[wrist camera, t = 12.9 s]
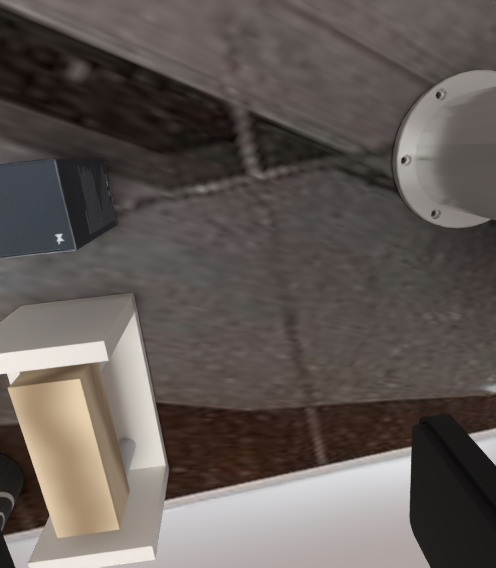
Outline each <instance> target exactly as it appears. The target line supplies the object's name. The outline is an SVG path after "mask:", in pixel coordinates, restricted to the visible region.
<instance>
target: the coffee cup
mask: <svg viewBox="0 0 496 568" xmlns="http://www.w3.org/2000/svg"><path fill="white" fill-rule="evenodd" d="M23 484H24V477H23V473H22V471H21V469H20V467H19V466H18V465H17V464H16V463H15V462H14V461H13V460H12V459H10V458H9V457H7V456H5V455H2V454H0V529H1V532H2V530H3V528H4V526H5V524H6V522H7V520H8V517H9V515H10V513H11V511H12V509H13V507H14V504H15V502H16V500H17V498H18V496H19V494H20V492H21V489H22V487H23Z"/></svg>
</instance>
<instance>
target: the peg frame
mask: <svg viewBox="0 0 496 568" xmlns="http://www.w3.org/2000/svg"><path fill="white" fill-rule="evenodd" d="M95 362H99V366H100V370H101V375H102V379H103V383H104V387H105V391H106V395H107V399H108V403H109V407H110V411H111V415H112V420H113V424H114V428H115V432H116V436H117V440H118V444H119V448H120V452H121V456H122V460H123V465H124V469H125V473H126V477H127V481H128V485H129V489H130V492H129V496H128V500H127V503H126V507H125V511H124V515H123V519H122V523H121V526H120V530H113V531H105V532H98V533H91V534H84V535H77V536H70V537H62V538H57V535H56V532H55V529H54V526H53V523H52V520H51V517H50V516H49V519H48V521H47V523H46V525H45V527H44V529H43V531H42V534H41V536H40V538H39V540H38V542H37V544H36V547H35V549H34V551H33V553H32V555H31V557H30V560H29V562H28V566H29V568H98V567H105V566H112V565H120V564H127V563H134V562H140V561H147V560H155V558H156V551H157V545H158V538H159V532H160V525H161V519H162V513H163V506H164V500H165V493H166V487H167V480H168V474H169V467H168V462H167V457H166V452H165V447H164V442H163V437H162V432H161V427H160V422H159V417H158V412H157V407H156V402H155V397H154V392H153V387H152V382H151V377H150V372H149V367H148V362H147V357H146V352H145V347H144V342H143V337H142V332H141V327H140V322H139V317H138V312H137V307H136V302H135V297H134V292H133V293H125V294H116V295H108V296H99V297H91V298H82V299H74V300H65V301H57V302H48V303H40V304H31V305H23V306H21V307H19V308H18V309H17V310H15V311H14V312H13V313H12V314H10V315H9V316H8V317H6V318H5V319H4V320H3V321H1V322H0V374H6V373H7V375H8V378H9V381H10V385H11V384H12V383H13V382H14V380H15V379H16V378H17V377H18V376H19V375H20V374H21V373H22V372H23V371H30V370H38V369H46V368H54V367H62V366H70V365H78V364H86V363H95Z"/></svg>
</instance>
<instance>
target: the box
mask: <svg viewBox="0 0 496 568" xmlns="http://www.w3.org/2000/svg"><path fill="white" fill-rule="evenodd" d="M116 225H117V219H116V214H115V208H114V204H113V198H112V194H111V188H110V183H109V178H108V173H107V168H106V162H105V160H104V158H57V159H44V160H34V161H24V162H15V163H4V164H0V259H2V258H10V257H20V256H29V255H37V254H47V253H57V252H70V251H76V250H77V249H79V248H81V247H82V246H84V245H85V244H87V243H89V242H90V241H92V240H93V239H95V238H97V237H98V236H100V235H101V234H103V233H105V232H106V231H108V230H109V229H111V228H112V227H114V226H116Z"/></svg>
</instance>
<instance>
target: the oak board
mask: <svg viewBox="0 0 496 568" xmlns="http://www.w3.org/2000/svg"><path fill="white" fill-rule="evenodd" d="M8 390H9V393H10V396H11V399H12V402H13V405H14V408H15V411H16V414H17V417H18V421H19V424H20V427H21V430H22V433H23V436H24V439H25V442H26V445H27V448H28V451H29V454H30V457H31V460H32V463H33V466H34V469H35V472H36V475H37V478H38V481H39V484H40V487H41V490H42V493H43V496H44V499H45V502H46V505H47V508H48V511H49V514H50V517H51V520H52V523H53V526H54V529H55V532H56V535H57V538H62V537H70V536H77V535H84V534H91V533H98V532H105V531H113V530H120V526H121V523H122V519H123V515H124V511H125V507H126V503H127V500H128V496H129V492H130V489H129V485H128V481H127V477H126V473H125V469H124V465H123V460H122V456H121V452H120V448H119V444H118V440H117V436H116V432H115V428H114V424H113V420H112V415H111V411H110V407H109V403H108V399H107V395H106V391H105V387H104V383H103V379H102V375H101V370H100V366H99V362H95V363H86V364H78V365H70V366H62V367H54V368H46V369H38V370H30V371H23V372H22V373H21V374H20V375H19V376H18V377H17V378H16V379H15V380H14V382H13V383H12V384H11V385H10V386H9V387H8Z"/></svg>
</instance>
